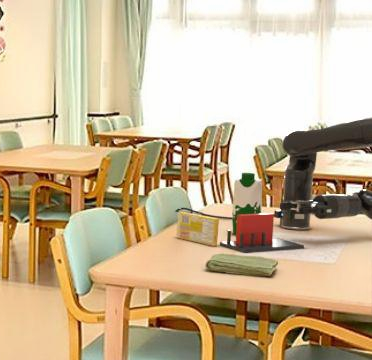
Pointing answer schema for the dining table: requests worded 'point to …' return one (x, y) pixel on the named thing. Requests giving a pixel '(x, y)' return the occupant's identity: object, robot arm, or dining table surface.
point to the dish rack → (276, 244)
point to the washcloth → (241, 264)
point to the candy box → (197, 228)
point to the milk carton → (246, 197)
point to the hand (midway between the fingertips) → (289, 208)
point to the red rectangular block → (255, 228)
